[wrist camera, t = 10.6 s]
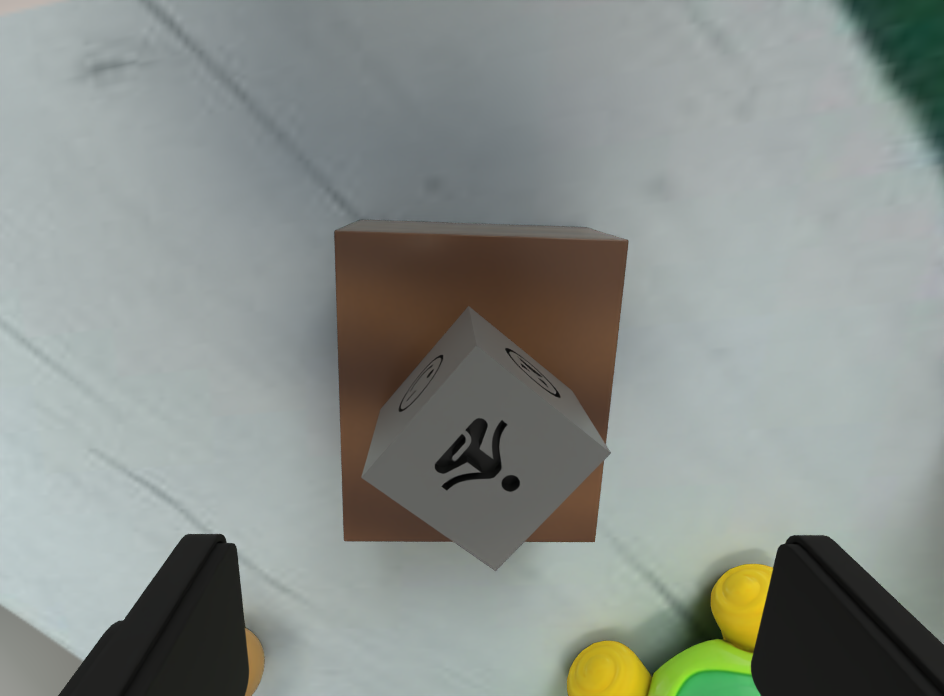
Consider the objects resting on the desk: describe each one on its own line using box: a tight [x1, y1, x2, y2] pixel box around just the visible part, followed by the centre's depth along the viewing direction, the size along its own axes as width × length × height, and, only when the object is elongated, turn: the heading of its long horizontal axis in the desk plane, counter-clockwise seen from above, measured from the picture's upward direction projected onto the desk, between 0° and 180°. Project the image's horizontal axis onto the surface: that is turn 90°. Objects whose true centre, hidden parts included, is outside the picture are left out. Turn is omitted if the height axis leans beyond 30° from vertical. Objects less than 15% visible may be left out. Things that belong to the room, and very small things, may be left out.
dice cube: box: [361, 306, 611, 571], centre depth 18 cm, size 5×5×5 cm
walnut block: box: [334, 220, 629, 542], centre depth 24 cm, size 12×10×6 cm
